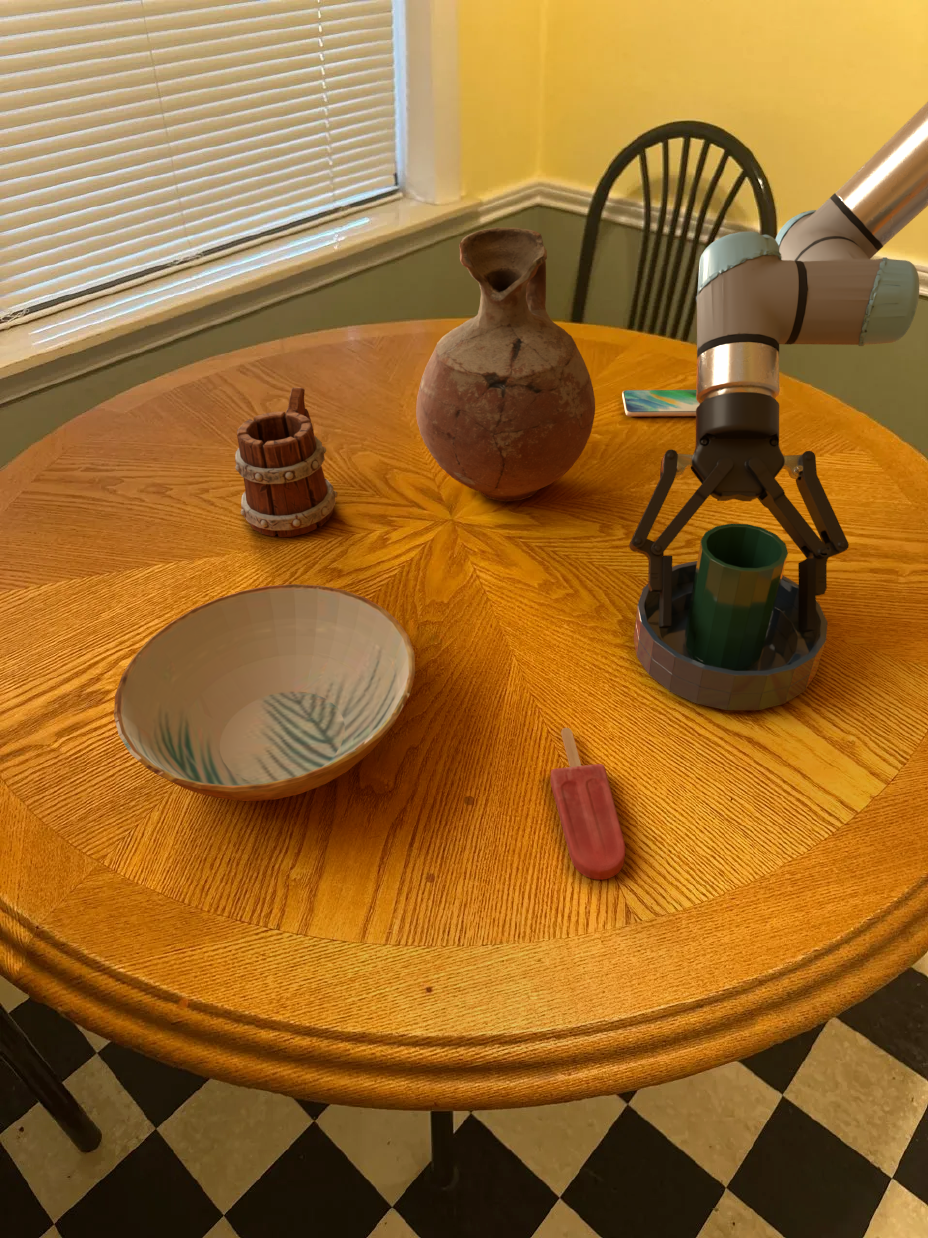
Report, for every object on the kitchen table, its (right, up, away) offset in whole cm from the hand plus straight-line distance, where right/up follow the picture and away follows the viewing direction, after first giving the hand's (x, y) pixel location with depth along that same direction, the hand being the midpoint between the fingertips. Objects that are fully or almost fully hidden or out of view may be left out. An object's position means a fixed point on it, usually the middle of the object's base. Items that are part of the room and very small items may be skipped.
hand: (735, 629), depth 79 cm
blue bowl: (0, -2, +5) cm, 6 cm away
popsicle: (-15, -14, -8) cm, 23 cm away
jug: (-20, +19, +32) cm, 42 cm away
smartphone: (+6, +32, +46) cm, 57 cm away
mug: (-46, +15, +29) cm, 57 cm away
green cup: (0, -2, +5) cm, 5 cm away
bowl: (-41, -10, -1) cm, 43 cm away
